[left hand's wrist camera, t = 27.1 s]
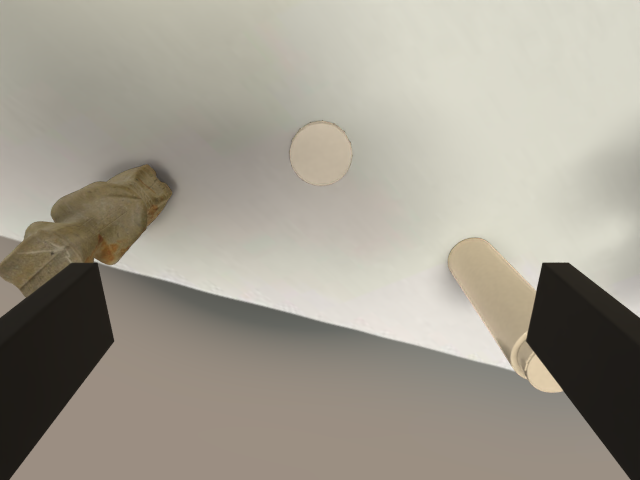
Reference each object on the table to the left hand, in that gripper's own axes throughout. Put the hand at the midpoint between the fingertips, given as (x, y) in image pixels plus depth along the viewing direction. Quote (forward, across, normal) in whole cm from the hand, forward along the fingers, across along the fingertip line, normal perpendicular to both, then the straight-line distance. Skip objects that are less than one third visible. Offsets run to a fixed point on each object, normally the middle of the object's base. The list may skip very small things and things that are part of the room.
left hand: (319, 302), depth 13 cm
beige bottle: (+27, +15, -11) cm, 33 cm away
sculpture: (+27, -16, -4) cm, 32 cm away
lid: (+26, 0, 0) cm, 26 cm away
